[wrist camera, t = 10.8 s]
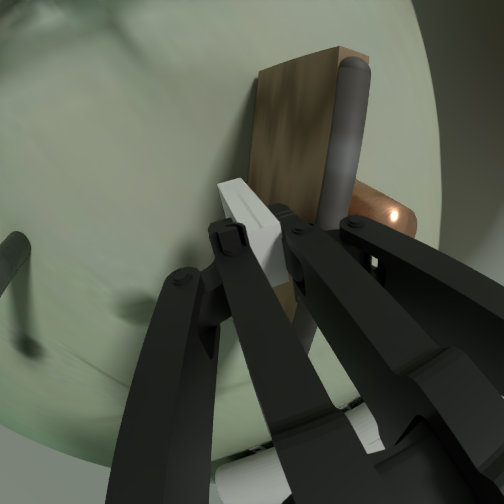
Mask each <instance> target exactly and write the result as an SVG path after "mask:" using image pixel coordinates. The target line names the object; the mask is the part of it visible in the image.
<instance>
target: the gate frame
mask: <svg viewBox="0 0 504 504" xmlns="http://www.w3.org/2000/svg"><path fill="white" fill-rule="evenodd" d="M350 215H360V216H365V217H368V218H370V219H372V220H375V221H377V222H379V223H381V224H384V225H386V226H388V227H390V228H393V229H395V230H397V231H399V232H401V233H403V234H405V235H408V236H410V237H412V238H414V237H415V235H416V231H417V219H416V216H415V214H414V212H413V211H412V210H411V209H409V208H407V207H406V206H404V205H402V204H400V203H399V202H397V201H395V200H394V199H392V198H390V197H388V196H386V195H385V194H383V193H381V192H379V191H377V190H375V189H374V188H372V187H370V186H368V185H366V184H364V183H362V182H360V181H358V180H357V179H355V183H354V188H353V193H352V198H351V202H350V207H349V211H348V216H350ZM30 251H31V246H30V242H29V240H28V238H27V237H26V236H25V235H24V234H23V233H21V232H19V231H14V232H12V233H10V234H9V236H8V237H7V238H6V239H5V240H4V241H3V242H2V243H1V244H0V297H1V295H2V294H3V292H4V291H5V289H6V288H7V286H8V285H9V283H10V281H11V280H12V279H13V277H14V276H15V274H16V273H17V271H18V270H19V268H20V267H21V266H22V264H23V263H24V261H25V260H26V259H27V257H28V256H29V254H30ZM232 318H233V316H232ZM233 322H234V319H233ZM234 325H235V323H234ZM235 328H236V326H235ZM236 332H237V329H236ZM237 335H238V333H237ZM238 338H239V336H238ZM239 342H240V339H239ZM240 345H241V342H240ZM241 348H242V345H241ZM242 351H243V349H242ZM243 354H244V352H243ZM244 358H245V355H244ZM245 361H246V358H245ZM246 364H247V361H246ZM247 367H248V364H247ZM248 370H249V367H248ZM249 374H250V371H249ZM250 377H251V374H250ZM251 380H252V377H251ZM252 383H253V380H252ZM253 386H254V383H253ZM254 389H255V386H254ZM255 392H256V389H255ZM256 395H257V392H256ZM257 398H258V395H257ZM258 401H259V398H258ZM259 404H260V401H259ZM260 407H261V404H260ZM261 410H262V407H261ZM262 413H263V410H262ZM263 416H264V413H263ZM264 419H265V422H266V425H267V428H268V431H269V434H270V436H271V433H270V430H269V427H268V424H267V421H266V418H265V416H264Z"/></svg>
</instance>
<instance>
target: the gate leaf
mask: <svg viewBox="0 0 504 504" xmlns="http://www.w3.org/2000/svg"><path fill="white" fill-rule="evenodd" d="M368 64H369V56H367V55H364V54H362V53H359V52H356V51H353V50H350V49H347V48H344V47H341V46H337V47H333V48H330V49H326V50H322V51H319V52H315V53H312V54H308V55H305V56H302V57H299V58H296V59H292V60H289V61H286V62H284V63H281V64H278V65H275V66H272V67H270V68H267V69H264V70H262V71H259V75H258V84H257V93H256V103H255V113H254V122H253V132H252V142H251V152H250V162H249V172H248V183H247V185H248V187H249V188H250V189H251V190H252V191H253V192H254V193H255V194H256V196H257V197H258V198H259V199H260V200H261V201H262V202H263V204H264V205H265V206H269V205H272V204H276V203H281V204H284V205H287V206H288V207H289V208H290V209H291V210H292V211H293V212H294V214H296V215H297V216H298V217H299V218H300V219H301V220H302V221H309V222H314V223H316V224H317V225H319V226H320V227H321V228H322V229H323V230H334V229H339V223H340V220H342V219H343V218H344V217H347V216H348V211H349V207H350V202H351V198H352V193H353V188H354V183H355V178H356V173H357V168H358V162H359V157H360V151H361V145H362V139H363V133H364V126H365V120H366V112H367V105H368V97H369V89H370V80H371V70H370V67H369V65H368ZM288 276H289V282H286V283H283V284H280V285H278V286H274V287H272V289H273V290H274V292H275V294H276V296H277V298H278V300H279V302H280V304H281V306H282V308H283V310H284V311H285V313H286V315H287V317H288V319H289V321H290V323H291V325H292V327H293V329H294V331H295V332H296V334H297V336H298V338H299V340H300V342H301V344H302V346H303V348H304V350H305V352H306V353H307V355H308V353H309V350H310V347H311V344H312V341H313V338H314V335H315V332H316V329H317V324H316V322H315V321H314V319H313V318H312V316H311V314H310V313H309V311H308V310H307V308H306V307H305V305H304V303H303V302H302V300H301V299H300V297H299V296H298V302H296V301H295V295H294V288H293V281H292V277H291V275H290V274H289V272H288Z"/></svg>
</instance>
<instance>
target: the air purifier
mask: <svg viewBox="0 0 504 504" xmlns="http://www.w3.org/2000/svg"><path fill="white" fill-rule="evenodd" d="M345 408H347V410H346V411H344V413H345V415H346V416H347V418H348V419H349V421H350V422H351V424H352V426H353V428H354V430H355V432H356V433H357V435H358V437H359V439H360V441H361V443H362V445H363V447H364V448H365V450H366V452H367V454H369V453H373V452H377V451H381V450H384V449H385V447H384V446H383V444H382V442H381V439H380V436H379V432H378V426H377V423H376V421H375V419H374V417H373V415H372V414H371V412H370V410H369V409H368V407H367V405H366V404H365V402H364V403H362V404H360V405H359V406H357V407H355V408H354V409H352V410H351V408H350V406H349V404H346V405H344V406H342V407H340V408H339V409H340V410H343V409H345ZM258 448H259V449H261V450H259V451H254V450H256V449H258ZM249 450H250V451H253V452H255V453H256V454H253V455H251V456H248V457H245V458H242V459H239V460H236V461H233V462H229V463H226V464H223V465H220V466H219V467H218V468H217V470H216V472H215V484H216V488H217V491H218V494H219V496H220V498H221V500H222V501H223V502H224V504H281V503H282V502H283V501H284V500H285V499H286V498H287V497H288V496H289V495H290V494H291V490H290V487H289V485H288V482H287V480H286V477H285V474H284V472H283V469H282V466H281V463H280V461H279V458H278V455H277V452H276V450H275V447H272V448H269V449H267V448H265V447H263V446H261V445H258V446H255V447H252V448H250V449H249Z"/></svg>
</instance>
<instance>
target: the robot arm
mask: <svg viewBox="0 0 504 504" xmlns="http://www.w3.org/2000/svg"><path fill="white" fill-rule="evenodd" d="M217 186H218V190H219V193H220V197H221V201H222V205H223V209H224V213H225V216H226V219H223V220H220V221H216V222H213V223H211V224H210V226H209V228H208V232H209V238H210V241H211V245H212V248H213V251H214V254H215V259H214V261H213V263H212V264H211V265H210V266H209V267H208V268H206V269H204V270H203V271H201V272H200V271H199V270H198V269H197V268H193V267H184V268H180V269H177V270H175V271H174V272H172V273H171V274H170V275H169V276H168V277H167V278H166V280H165V281H164V284H163V287H162V290H161V292H160V295H159V298H158V301H157V304H156V307H155V310H154V313H153V316H152V319H151V322H150V325H149V328H148V331H147V334H146V337H145V340H144V343H143V347H142V350H141V353H140V356H139V360H138V363H137V366H136V370H135V373H134V377H133V380H132V384H131V387H130V391H129V395H128V398H127V402H126V406H125V410H124V414H123V418H122V422H121V426H120V430H119V435H118V439H117V443H116V448H115V452H114V457H113V462H112V467H111V472H110V477H109V483H108V489H107V494H106V500H105V504H209V484H210V466H211V448H212V432H213V416H214V402H215V389H216V375H217V363H218V351H219V339H220V324H219V323H221V322H223V321H224V320H226V319H228V318H229V317H231V316H233V319H234V323H235V326H236V329H237V333H238V336H239V339H240V342H241V345H242V349H243V352H244V355H245V358H246V361H247V364H248V367H249V371H250V374H251V377H252V380H253V383H254V386H255V389H256V392H257V395H258V398H259V401H260V404H261V407H262V410H263V413H264V416H265V418H266V421H267V424H268V427H269V430H270V433H271V438H272V441H273V444H274V447H275V450H276V452H277V455H278V458H279V461H280V463H281V466H282V469H283V472H284V474H285V477H286V480H287V482H288V485H289V487H290V490H291V494H290V495H289V496H288V497H287V498H286V499H285V500H284V501H283V502H282V503H281V504H504V399H503V398H502V396H504V286H502V285H500V284H499V283H497V282H495V281H493V280H492V279H490V278H488V277H486V276H485V275H483V274H481V273H479V272H478V271H476V270H474V269H472V268H470V267H469V266H467V265H465V264H463V263H461V262H459V261H457V260H456V259H454V258H451V257H450V256H448V255H446V254H444V253H442V252H440V251H438V250H436V249H434V248H432V247H430V246H428V245H426V244H424V243H422V242H420V241H418V240H416V239H414V238H412V237H410V236H408V235H405V234H403V233H401V232H399V231H397V230H395V229H393V228H390V227H388V226H386V225H384V224H381V223H379V222H377V221H375V220H372V219H370V218H368V217H365V216H360V215H350V216H347V217H344V218H343V219H342V220H340V223H339V229H334V230H323V229H322V228H321V227H320V226H319V225H317V224H316V223H314V222H309V221H302V220H301V219H300V218H299V217H298V216H297V215H296V214H294V212H293V211H292V210H291V209H290V208H289V207H288V206H287V205H284V204H281V203H276V204H272V205H269V206H265V205H264V204H263V202H262V201H261V200H260V199H259V198H258V197H257V196H256V194H255V193H254V192H253V191H252V190H251V189H250V188H249V187H248V185H247V184H246V183H245V182H244V181H243V180H242V179H241V178H237V179H233V180H230V181H226V182H223V183H219V184H217ZM372 256H373V257H375V258H377V259H378V266H377V267H374V266H373V265H371V264H372ZM288 272H289V274H290V275H291V277H292V281H293V288H294V295H295V301H296V302H298V296H299V297H300V299H301V300H302V302H303V303H304V305H305V307H306V308H307V310H308V311H309V313H310V314H311V316H312V318H313V319H314V321H315V322H316V324H317V326H318V327H319V329H320V330H321V332H322V334H323V335H324V337H325V338H326V340H327V342H328V343H329V345H330V347H331V348H332V350H333V351H334V353H335V355H336V356H337V358H338V359H339V361H340V363H341V364H342V366H343V368H344V369H345V371H346V372H347V374H348V376H349V377H350V379H351V381H352V382H353V384H354V386H355V387H356V389H357V390H358V392H359V394H360V395H361V397H362V399H363V400H364V402H365V404H366V405H367V407H368V409H369V410H370V412H371V414H372V415H373V417H374V419H375V421H376V423H377V426H378V432H379V436H380V439H381V442H382V444H383V446H384V447H385V449H384V450H381V451H377V452H373V453H369V454H367V452H366V450H365V448H364V447H363V445H362V443H361V441H360V439H359V437H358V435H357V433H356V432H355V430H354V428H353V426H352V424H351V422H350V421H349V419H348V418H347V416H346V415H345V413H344V412H343V411H342V410H340V409H337V408H336V407H335V406H334V405H333V403H332V401H331V399H330V398H329V396H328V394H327V392H326V390H325V388H324V386H323V384H322V382H321V380H320V378H319V376H318V375H317V373H316V371H315V369H314V367H313V365H312V363H311V361H310V359H309V357H308V355H307V353H306V352H305V350H304V348H303V346H302V344H301V342H300V340H299V338H298V336H297V334H296V332H295V331H294V329H293V327H292V325H291V323H290V321H289V319H288V317H287V315H286V313H285V311H284V310H283V308H282V306H281V304H280V302H279V300H278V298H277V296H276V294H275V292H274V290H273V289H272V287H274V286H278V285H280V284H283V283H286V282H289V276H288ZM501 395H502V396H501Z"/></svg>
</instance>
